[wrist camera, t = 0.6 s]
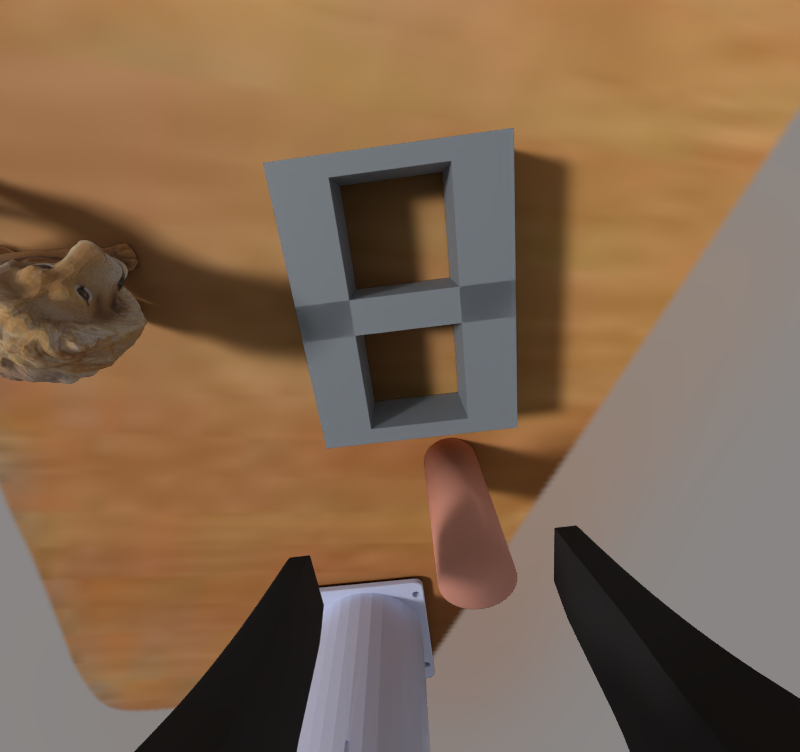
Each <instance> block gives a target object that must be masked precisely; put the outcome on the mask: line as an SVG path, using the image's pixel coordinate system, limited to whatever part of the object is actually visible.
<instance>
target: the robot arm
mask: <svg viewBox="0 0 800 752" xmlns="http://www.w3.org/2000/svg"><path fill="white" fill-rule="evenodd" d="M554 536H555V537H554V582H555V585H556V587H557V590H558V593H559V596H560V599H561V602H562V604H563V607H564V610H565V612H566V615H567V618H568V620H569V622H570V624H571V626H572V628H573V630H574V632H575V635H576V637H577V639H578V641H579V643H580V645H581V647H582V649H583V651H584V653H585V655H586V657H587V660H588V661H589V664H590V665H591V668H592V670H593V672H594V674H595V676H596V678H597V680H598V682H599V684H600V686H601V688H602V690H603V692H604V694H605V696H606V698H607V701H608V703H609V704H610V706H611V709H612V711H613V713H614V715H615V717H616V720H617V722H618V724H619V726H620V729H621V731H622V733H623V735H624V738H625V740H626V743H627V745H628V748H629V750H630V752H800V698H798V697H796V696H795V695H793V694H792V693H790V692H789V691H787V690H785V689H784V688H782V687H781V686H779V685H777V684H776V683H774V682H773V681H771V680H770V679H768V678H767V677H765V676H763V675H762V674H760V673H759V672H757V671H755V670H754V669H753V668H751V667H750V666H748V665H747V664H745V663H744V662H742V661H741V660H739V659H738V658H736V657H735V656H733V655H732V654H730V653H729V652H727V651H726V650H725V649H723V648H722V647H721V646H719V645H718V644H716V643H715V642H714V641H712V640H711V639H709V638H708V637H707V636H705V635H704V634H703V633H701V632H700V631H698V630H697V629H696V628H695V627H693V626H692V625H691V624H689V623H688V622H687V621H685V620H684V619H683V618H681V617H680V616H679V615H678V614H677V613H675V612H674V611H673V610H672V609H670V608H669V607H668V606H666V605H665V604H664V603H663V602H661V601H660V600H659V599H658V598H656V597H655V596H654V595H653V594H652V593H650V592H649V591H648V590H647V589H646V588H645V587H643V586H642V585H641V584H640V583H639V582H638V581H637V580H635V579H634V578H633V577H632V576H631V575H630V574H629V573H627V572H626V571H625V570H624V569H623V568H622V567H620V566H619V565H618V564H617V563H616V562H615V561H614V560H613V559H612V558H611V557H610V556H608V555H607V554H606V553H605V552H604V551H603V550H602V549H601V548H600V547H599V546H598V545H596V544H595V543H594V542H593V541H592V540H591V539H590V538H589V537H588V536H587V535H586V534H585V533H584V532H583V531H582V530H581V529H580V528H578V527H577V526H569V527H559V528H555V535H554ZM434 672H435V671H434V662H433V655H432V648H431V640H430V633H429V626H428V619H427V611H426V604H425V597H424V589H423V583H422V581H421V580H419V579H405V580H394V581H384V582H374V583H363V584H353V585H343V586H333V587H322V588H319V586H318V583H317V579H316V576H315V572H314V569H313V565H312V561H311V558H310V556H301V557H292V558H289V559H288V560H287V562H286V563H285V565H284V566H283V568H282V569H281V571H280V572H279V574H278V575H277V577H276V578H275V580H274V581H273V583H272V584H271V586H270V587H269V589H268V590H267V591H266V593H265V594H264V596H263V597H262V599H261V600H260V602H259V603H258V605H257V606H256V607H255V609H254V610H253V612H252V613H251V614H250V616H249V617H248V619H247V620H246V621H245V623H244V624H243V626H242V627H241V628H240V630H239V631H238V632H237V634H236V635H235V636H234V638H233V639H232V640H231V642H230V643H229V644H228V645H227V647H226V648H225V649H224V651H223V652H222V653H221V654H220V656H219V657H218V658H217V660H216V661H215V662H214V663H213V665H212V666H211V667H210V668H209V670H208V671H207V672H206V673H205V675H204V676H203V677H202V678H201V679H200V681H199V682H198V683H197V684H196V685H195V686H194V688H193V689H192V690H191V691H190V692H189V693H188V695H187V696H186V697H185V698H184V699H183V700H182V701H181V703H180V704H179V705H178V706H177V707H176V708H175V709H174V710H173V711H172V712H171V714H170V715H169V716H168V717H167V718H166V719H165V720H164V721H163V722H162V723H161V724H160V725H159V726H158V728H157V729H156V730H155V731H154V732H153V733H152V734H151V735H150V736H149V737H148V738H147V739H146V740H145V741H144V742H143V743H142V744H141V745H140V746H139V747H138V748H137V750H136V751H135V752H430V740H429V725H428V708H427V693H426V678H429V677H432V676H433V675H434Z"/></svg>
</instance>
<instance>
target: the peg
mask: <svg viewBox="0 0 800 752" xmlns="http://www.w3.org/2000/svg"><path fill="white" fill-rule="evenodd" d="M424 467H425V476H426V485H427V493H428V502H429V511H430V519H431V528H432V536H433V545H434V554H435V562H436V571H437V580H438V587H439V590H440V593H441V594H442V596H443V597H444V598H445V599H446V600H447V601H448V602H450V603H451V604H453V605H455V606H458V607H461V608H465V609H483V608H488V607H491V606H494V605H496V604H498V603H500V602H502V601H503V600H505V599H506V598H507V597H508V596H509V595H510V594H511V593H512V592H513V590H514V589H515V586H516V583H517V572H516V569H515V566H514V563H513V560H512V557H511V555H510V552H509V549H508V546H507V543H506V540H505V537H504V534H503V532H502V529H501V526H500V523H499V520H498V517H497V514H496V511H495V509H494V506H493V503H492V500H491V497H490V494H489V491H488V488H487V486H486V483H485V480H484V477H483V474H482V471H481V468H480V465H479V463H478V460H477V457H476V454H475V451H474V449H473V448H472V447H471V446H470V445H469V444H468V443H467V442H465V441H463V440H460V439H456V438H447V439H442V440H440V441H437V442H436V443H434V444H433V445H432V446H431V447H430V448H429V449H428V450H427V452H426V454H425V457H424Z"/></svg>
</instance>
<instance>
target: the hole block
mask: <svg viewBox="0 0 800 752" xmlns="http://www.w3.org/2000/svg"><path fill="white" fill-rule="evenodd" d="M263 166H264V170H265V174H266V179H267V183H268V188H269V192H270V197H271V201H272V206H273V210H274V215H275V219H276V224H277V228H278V233H279V237H280V242H281V246H282V251H283V255H284V260H285V264H286V269H287V273H288V278H289V282H290V287H291V291H292V296H293V300H294V305H295V309H296V314H297V318H298V323H299V327H300V332H301V336H302V341H303V345H304V350H305V354H306V359H307V363H308V368H309V372H310V377H311V381H312V386H313V390H314V395H315V399H316V404H317V408H318V413H319V417H320V422H321V426H322V431H323V435H324V440H325V444H326V448H335V447H344V446H353V445H362V444H371V443H380V442H389V441H398V440H407V439H416V438H425V437H434V436H443V435H452V434H461V433H470V432H480V431H489V430H498V429H507V428H516V427H517V354H516V271H515V187H514V128H509V129H502V130H495V131H488V132H481V133H473V134H466V135H459V136H452V137H445V138H438V139H430V140H423V141H416V142H409V143H402V144H394V145H387V146H380V147H373V148H366V149H358V150H351V151H344V152H337V153H330V154H323V155H315V156H308V157H301V158H294V159H287V160H279V161H272V162H265V163H263ZM439 172H442V176H443V190H444V203H445V217H446V231H447V245H448V258H449V272H450V278H443V279H435V280H427V281H419V282H411V283H403V284H395V285H387V286H379V287H371V288H364V289H356V283H355V277H354V271H353V264H352V258H351V252H350V246H349V240H348V233H347V227H346V221H345V215H344V208H343V202H342V196H341V190H340V186H343V185H351V184H358V183H366V182H373V181H380V180H388V179H395V178H402V177H410V176H417V175H424V174H432V173H439ZM449 324H453V327H454V341H455V354H456V368H457V382H458V392H456V393H447V394H439V395H430V396H421V397H412V398H404V399H395V400H386V401H377V402H375V401H374V395H373V388H372V382H371V376H370V370H369V364H368V357H367V351H366V345H365V339H364V335H367V334H375V333H383V332H391V331H400V330H408V329H416V328H424V327H433V326H441V325H449Z"/></svg>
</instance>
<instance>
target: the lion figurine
mask: <svg viewBox="0 0 800 752" xmlns="http://www.w3.org/2000/svg"><path fill="white" fill-rule="evenodd" d="M137 263H138V260H137V258H136V255H135V253H134V251H133V250H132V249H131V248H130V247H129V245H128V244H125V243H123V244H118V245H115V246H111V247H106V248H100V247H99V246H97V245H96V244H95V243H93V242H91V241H89V240H81V241H79V242H78V243H77V244H76V245H75V246H74V247H72V248H61V249H55V250H42V251H22V252H14V251H12V250H10V249H8V248H6V247H3V246H1V245H0V376H1V377H4V378H7V379H10V380H17V381H23V380H25V381H29V382H52V383H60V382H62V383H65V384H72V383H75V382H76V381H78V380H79V379H80V378H82V377H90V376H93V375H95V374H96V373H97V372H98V371H99V370H100V369H103V368H106V367H109V366H111V365H113V363H114V362H115V361H116V360H117V359H118V358H119V357H120V356H121V355H122V354H123V353H124V352H125V351H126V350H127V349H129V348H130V347H131V346H133V345H134V343H135V342H136V340H137V339H138V338H139V337H140V335H141V333H142V331H143V329H144V326H145V325H146V323H147V320H146V319H145V318H144V314H143V313H142V311H141V307H140V305H139V304H138V302H137V300H136V299H135V298H134V296H133V295H132V294H131V292H130V291H128V290H127V289H126V288H125V287H124V286H123V285H124V281H125V279H126V277H127V274H128V272H129V271H132V270H134V269H135V267H136V265H137Z"/></svg>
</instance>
